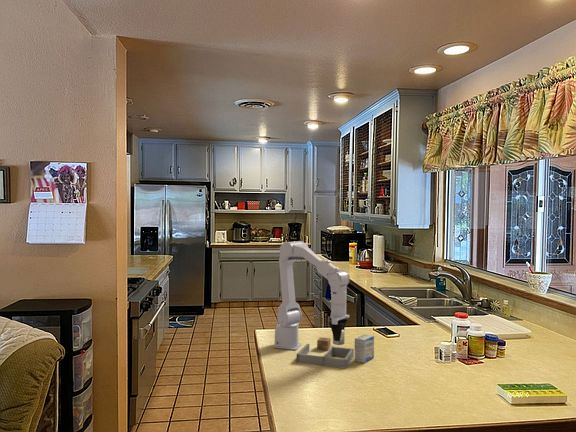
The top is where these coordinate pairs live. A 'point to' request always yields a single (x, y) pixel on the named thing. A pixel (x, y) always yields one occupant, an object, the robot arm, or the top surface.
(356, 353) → the medicine box
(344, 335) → the silver metal cylinder
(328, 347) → the block
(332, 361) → the housing
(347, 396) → the top surface
